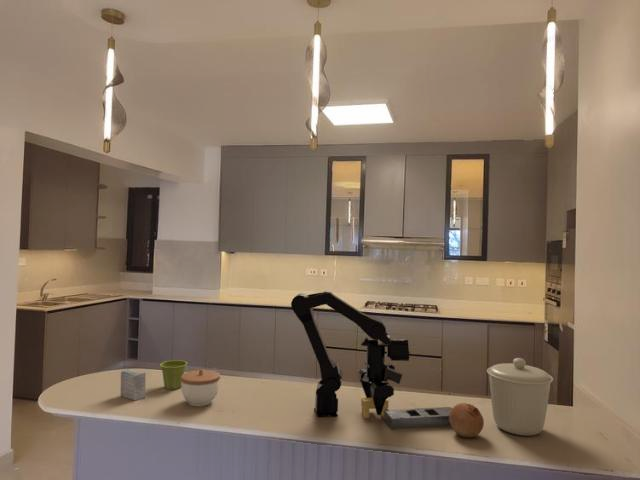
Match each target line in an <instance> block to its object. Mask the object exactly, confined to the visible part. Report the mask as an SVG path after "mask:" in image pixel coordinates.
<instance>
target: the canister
mask: <svg viewBox="0 0 640 480" xmlns="http://www.w3.org/2000/svg"><path fill="white" fill-rule="evenodd" d="M486 373H487V374H488V378H489V388H490V399H491V408H492V416H493V420H494V423H495V424H496V425H497V427H498V428H500V429H501V430H502V431H504V432H507V433H510V434H512V435H516V436H517V435H518V436H525V437H526V436H527V437H528V436H536V435H538V434H540V433H541V432H542V431H543V429H544V426H545V421H546V416H547V411H548V404H549V398H550V397H549V396H550V391H551V384H552V382H553V381H554V378H553V376H552V375H550V374H549V372H546V370H543V369H541V368H539V367H536V366H531V365H528V364H527V363H526V360H525V359H524V358H521V357H516V358H514V359H512V363H509V362H508V363H498V364H494V365H492V366H489V367H488V368H487V369H486Z"/></svg>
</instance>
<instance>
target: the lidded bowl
mask: <svg viewBox="0 0 640 480" xmlns="http://www.w3.org/2000/svg"><path fill="white" fill-rule="evenodd" d="M220 378H221V373H219V372H218V371H215V370H212V369H211V370H210V369H202V368H200V369H198V370H191V371H187V372H184V374H183V375H182V376H181V392H182V396H183V399H185V401H186V402H188V404H189V405H190V406H192V407H204V406H207V405H210V404H212V401H213V400H214V399H215V398H216V396H217V395H218V393H219V389H220Z"/></svg>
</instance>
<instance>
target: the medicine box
mask: <svg viewBox="0 0 640 480" xmlns="http://www.w3.org/2000/svg"><path fill="white" fill-rule="evenodd" d="M146 374H147V373H146V372H145V371H141V370H138V369H133V368H129V369H125V370H123V371H121V372H120V397H121V398H126V399H129V400H131V401H138V400H141V399H144V398H146V388H147V387H146V381H147V380H146V377H147V375H146Z"/></svg>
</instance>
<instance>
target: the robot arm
mask: <svg viewBox="0 0 640 480" xmlns="http://www.w3.org/2000/svg"><path fill="white" fill-rule="evenodd" d="M325 305H326V306H328V307H330V308H331V309H332V310H334V311H336V312H337V313H339V314H340V315H342V316H344V317H345V318H347V319H348V320H349V321H351V322H353V323H354V324H356V325H357V326H358V327H359V328H360V329H361V330H362V331H363V332H364V333H365V334H366V335H367V336H368V337H369V338H370V339H369V338H368V337H367V336H365V338H364V339H363V340H361V342H360V344H361V346H362V347H366V360H365V361H364V365H365V367H366V369H360V370H359V371H358V372H357V373H358V375H357V378H358V379H359V382H360V385H361V388H362V391H363V392H364V396H365V398H372V399H373V403H374V406H375V409H374V410H375V412H376V415H378V416H381V413H382V410H383V407H384V404H385V401H386V399H388V398H391V397H392V396H394V395H395V388H394V387H393V386H392V385H391V384H390V383H389V382H388V380H389V381H390V382H391V381H392V382H394V383H396V384H397V385H400V382H401V381H402V377H403V373H401V372H400V371H399V370H398V369H396V368H395V365H394V364H392V363H388V364H386V361H385V357H387V358H389V359H390V361H392V362H393V361H394V362H395V361H396V362H409V361H410V348H409V340H408V339H407V338H400V339H399V338H391V336H390V335H389V334H388V333H387V329H386V326H385V322H383V321H382V320H381V319H379V318H377V317H375V316H372V315H369V314H366V313H364V312H361V310H359V309H357V308H356V307H354V306H353V305H351V304H349V303H347V301H345V300H343V299H341V298H340V297H339V296H337V295H335V294H334V293H333V292H332V291H330V290H324V291H322V292H316V293H309V294H306V293H303V292H302V293H298V294H297V295H295V296H294V297H293V299H292V300H291V303H290V306H291V307H290V308H291V309H292V311H293V313H294V314H295V316H296V317H297V319H298V321H300V322H301V324H302V325H303V328H304V330H305V333H306V335H307V338H308V340H309V343H310V345H311V348H312V349H313V353H314V355H315V358H316V359H317V360H316V361H317V362H318V365H319V372H320V376H321V379H320V381H319V382H317V386H316V390H315V397H314V398H315V400H314V401H315V402H314V403H315V405H314V408H313V410H314V413H315V415H316V417H337V416H338V411H339V399H338V397H337V393H336V392H337V391H339V389H340V388H341V386H342V379H343V371H342V370H341V367H340V364H339V361H336V362H334V361H333V360H332V358H331V357H330V354H329V351H328V349H327V346H326V344H325V342H324V338H323V337H322V334H321V332H320V330H319V327H318V325H317V321H316V320H315V316H314V308H317V307H320V306H325Z"/></svg>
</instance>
